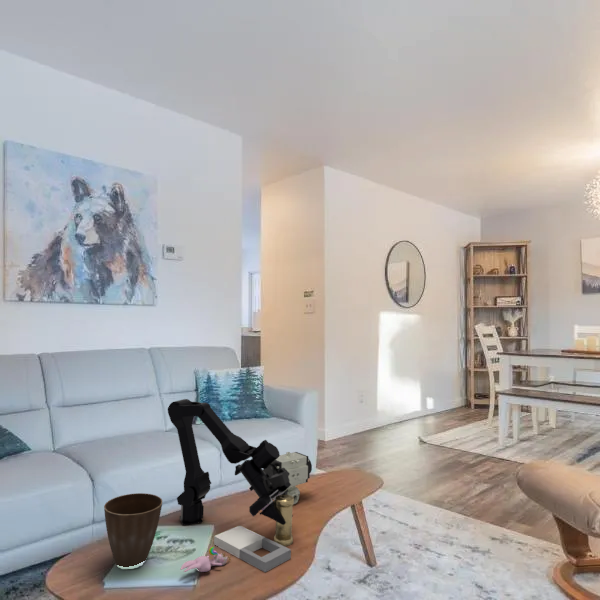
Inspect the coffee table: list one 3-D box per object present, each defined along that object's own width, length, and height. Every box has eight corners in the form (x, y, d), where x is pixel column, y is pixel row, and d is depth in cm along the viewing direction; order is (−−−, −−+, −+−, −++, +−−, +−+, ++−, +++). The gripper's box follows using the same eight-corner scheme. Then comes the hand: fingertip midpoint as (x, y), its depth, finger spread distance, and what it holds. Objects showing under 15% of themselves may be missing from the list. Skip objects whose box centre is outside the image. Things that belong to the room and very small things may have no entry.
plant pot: (121, 546, 136) (123, 490, 137) (169, 552, 134) (171, 495, 134) (89, 574, 122) (92, 511, 122) (143, 581, 119) (145, 517, 120)
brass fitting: (278, 547, 139) (279, 502, 139) (271, 539, 144) (272, 495, 144) (295, 544, 141) (296, 500, 141) (288, 536, 146) (289, 493, 146)
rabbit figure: (219, 561, 133) (174, 572, 122) (222, 539, 134) (178, 548, 123) (233, 570, 129) (188, 582, 118) (237, 546, 130) (192, 557, 119)
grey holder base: (213, 544, 139) (214, 535, 139) (239, 533, 147) (239, 525, 147) (265, 572, 125) (265, 562, 125) (290, 558, 133) (290, 549, 133)
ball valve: (275, 511, 164) (277, 459, 165) (261, 503, 171) (262, 454, 171) (313, 499, 176) (315, 451, 176) (299, 492, 182) (300, 446, 183)
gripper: (260, 470, 136) (294, 516, 131) (286, 453, 153) (317, 494, 149) (235, 493, 139) (267, 539, 134) (263, 474, 156) (293, 514, 151)
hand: (288, 520), depth 142 cm, fingers closed on brass fitting, 5 cm apart
